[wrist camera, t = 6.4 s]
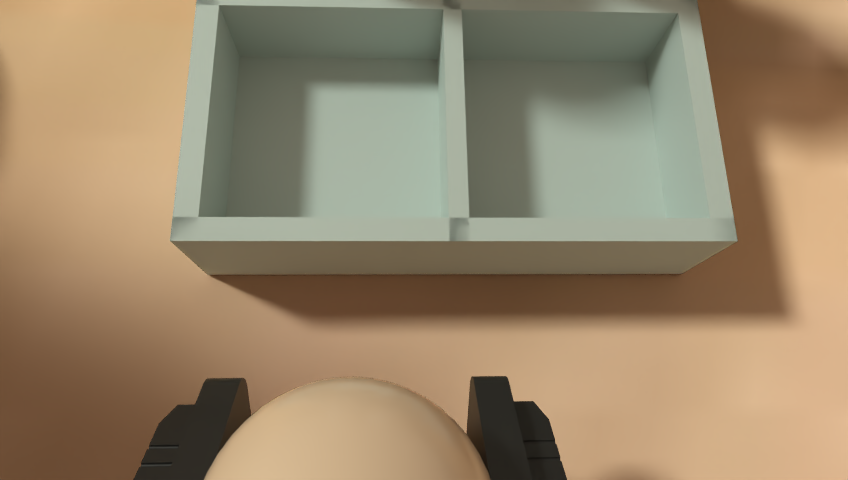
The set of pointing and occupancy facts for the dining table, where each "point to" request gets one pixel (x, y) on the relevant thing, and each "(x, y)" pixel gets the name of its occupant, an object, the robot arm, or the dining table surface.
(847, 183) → the dining table surface
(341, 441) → the cream dome-topped cylinder
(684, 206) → the carton
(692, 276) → the dining table surface
